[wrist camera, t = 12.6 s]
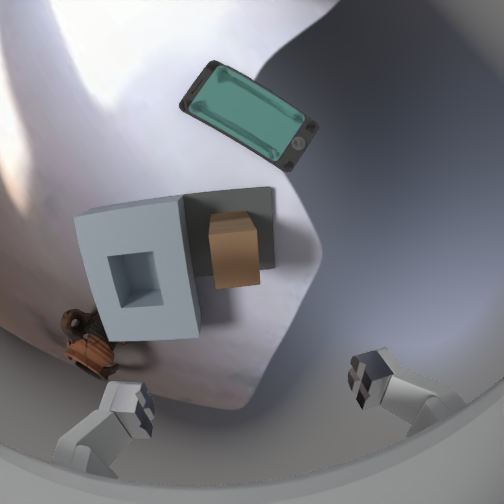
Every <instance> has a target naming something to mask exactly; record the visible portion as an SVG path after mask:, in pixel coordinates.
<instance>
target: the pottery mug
mask: <svg viewBox="0 0 504 504" xmlns="http://www.w3.org/2000/svg"><path fill="white" fill-rule="evenodd" d="M73 319H77V322H76V323H75V325H74V326H73V327H71V322H72V320H73ZM61 327H62V330H63V332H64V333H65V334H66V335H67V337H68V340H69V341H68V342H67V346H68V348H67V350H66V352H65V355H66V356H67V357H68V358H69V359H70V360H71V359H72V358H73V359H75V360H77V361H76V363H75V365H76V366H78V367H79V368H80V369H82V370H84V371H85V372H86V373H88V374H90V375H92V376H93V377H95V378H97V379H100V380H102V381H107V380H108V376H109V375H112V374H114V373H115V372H116V371H117V370H118V369H119V365H118V364H116V365H114V366H111V367H104V366H107V365H108V364H110V363H111V362H112V361H113V359H114V353H113V351H112V350H114V347H115V343H116V341H109V339H108V337H107V334H106V331H105V329H104V326H103V323H102V321H101V318H100V315H99V312H98V313H97V314H96V315H94V316H93V317H92V318H91V315H90V314H89V313H84V312H82V311H80V310H78V309H72V310H68V311H67V312H64V315H63V317H62V319H61ZM86 333H88V339H87V340H86V339H85V338H83V334H86ZM119 342H120V343H121V344H122V345H125V344H126V341H119Z"/></svg>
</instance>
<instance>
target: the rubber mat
mask: <svg viewBox="0 0 504 504" xmlns="http://www.w3.org/2000/svg"><path fill="white" fill-rule="evenodd" d="M183 201H184V209H185V218H186V225H187V233H188V240H189V248H190V254H191V261H192V268H193V274H194V277H196V276H206V275H214V274H213V267H212V259H211V251H210V243H209V226H210V217H211V214H215V213H224V212H234V211H245V210H246V212H247V213H248V215H249V217H250V219H251V221H252V222H253V224H254V226H255V228H256V230H257V241H258V256H259V270H263V269H272V268H275V265H274V240H273V218H272V198H271V187H256V188H243V189H231V190H221V191H211V192H201V193H193V194H184V195H183Z"/></svg>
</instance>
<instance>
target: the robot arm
mask: <svg viewBox="0 0 504 504" xmlns="http://www.w3.org/2000/svg"><path fill="white" fill-rule="evenodd" d="M351 365H352V368H351V369H350V370H349V372H348V383H349V386H350V389H351V391H352V392H354V393H356V394H357V398H356V400H357V402H358V403H359V405H360V407H361V409H362V410H365V409H368V408H371V407H374V406H377V405H380V406H382V407H383V408H385V409H387V410H388V411H390V412H392V413H393V414H395V415H396V416H398V417H400V418H401V419H403V420H405V421H407V422H408V423H410V424H412V426H411V427H410V429H409V431H408V432H407V434H406V437H407V438H406V439H404V440H402V441H400V442H398V443H395V444H393V445H390V446H388V447H386V448H383V449H381V450H378V451H376V452H373V453H371V454H368V455H365V456H362V457H360V458H357V459H354V460H351V461H348V462H345V463H341V464H338V465H335V466H331V467H328V468H324V469H320V470H316V471H312V472H308V473H303V474H299V475H295V476H289V477H284V478H278V479H272V480H265V481H258V482H249V483H239V484H226V485H200V486H198V485H197V486H196V485H195V486H194V485H189V486H188V485H164V484H152V483H142V482H133V481H126V480H120V479H118V476H117V474H116V473H114V471H112V470H111V469H110V468H109V466H110V465H111V464H112V462H113V461H114V460H115V459H116V458H117V456H118V455H119V454H120V453H121V452H122V451H123V449H124V448H125V447H126V445H128V443H129V442H130V441H131V440H132V438H140V439H151V437H152V430H153V425H152V423H151V420H152V419H153V418H154V416H155V404H154V401H153V398H152V396H150V395H149V394H148V393H147V392H148V388H147V386H146V384H145V383H138V382H115V381H110V382H109V383H108V384H107V387H106V389H105V392H104V395H103V398H102V401H101V404H100V407H99V410H95V411H93V412H92V413H91V414H90V415H88V416H87V417H86V418H85V419H83V420H82V421H81V422H80V423H78V424H77V425H76V426H75V427H74V428H72V429H71V430H70V431H68V432H67V433H66V434H65V435H63V436H62V437H61V438H60V439H59V440H58V443H57V446H56V449H55V451H54V454H53V458H52V461H51V462H48V461H45V460H42V459H40V458H37V457H34V456H32V455H29V454H26V453H24V452H22V451H19V450H17V449H15V448H13V447H10V446H8V445H6V444H4V443H2V442H0V504H504V377H503V378H502V379H501V380H499V381H498V382H497V383H495V384H494V385H493V386H492V387H490V388H489V389H488V390H486V391H485V392H484V393H482V394H481V395H479V396H478V397H477V398H475V399H474V400H472V401H471V402H469V403H468V404H466V403H465V402H464V400H463V399H462V398H461V397H460V396H459V394H458V393H457V392H456V391H455V390H454V388H453V387H452V386H450V385H447V384H444V383H441V382H439V381H436V380H434V379H431V378H429V377H426V376H423V375H421V374H418V373H416V372H413V371H411V370H405V369H404V368H403V367H402V366H401V364H400V363H399V362H398V361H397V359H396V358H395V357H394V356H393V354H391V352H390V351H389V350H388V349H387V348H386V347H383V348H380V349H377V350H374V351H370V352H367V353H363V354H359V355H355V356H353V357H352V359H351Z"/></svg>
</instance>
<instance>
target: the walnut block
mask: <svg viewBox="0 0 504 504" xmlns="http://www.w3.org/2000/svg"><path fill="white" fill-rule="evenodd" d="M209 243H210V251H211V259H212V267H213V274H214V281H215V288H216V289H224V288H234V287H242V286H251V285H259V284H260V271H259V256H258V241H257V230H256V228H255V226H254V224H253V222H252V221H251V219H250V217H249V215H248V213H247V212H246V210H245V211H234V212H224V213H215V214H211V217H210V226H209Z"/></svg>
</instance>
